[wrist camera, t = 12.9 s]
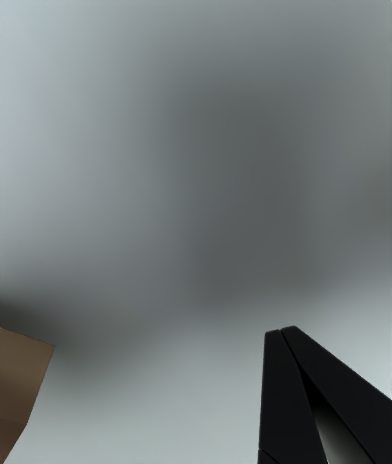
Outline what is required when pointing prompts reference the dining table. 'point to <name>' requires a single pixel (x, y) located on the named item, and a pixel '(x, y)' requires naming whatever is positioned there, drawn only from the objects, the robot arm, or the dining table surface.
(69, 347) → the dining table surface
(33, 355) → the crank
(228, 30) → the dining table surface
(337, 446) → the robot arm
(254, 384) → the dining table surface
